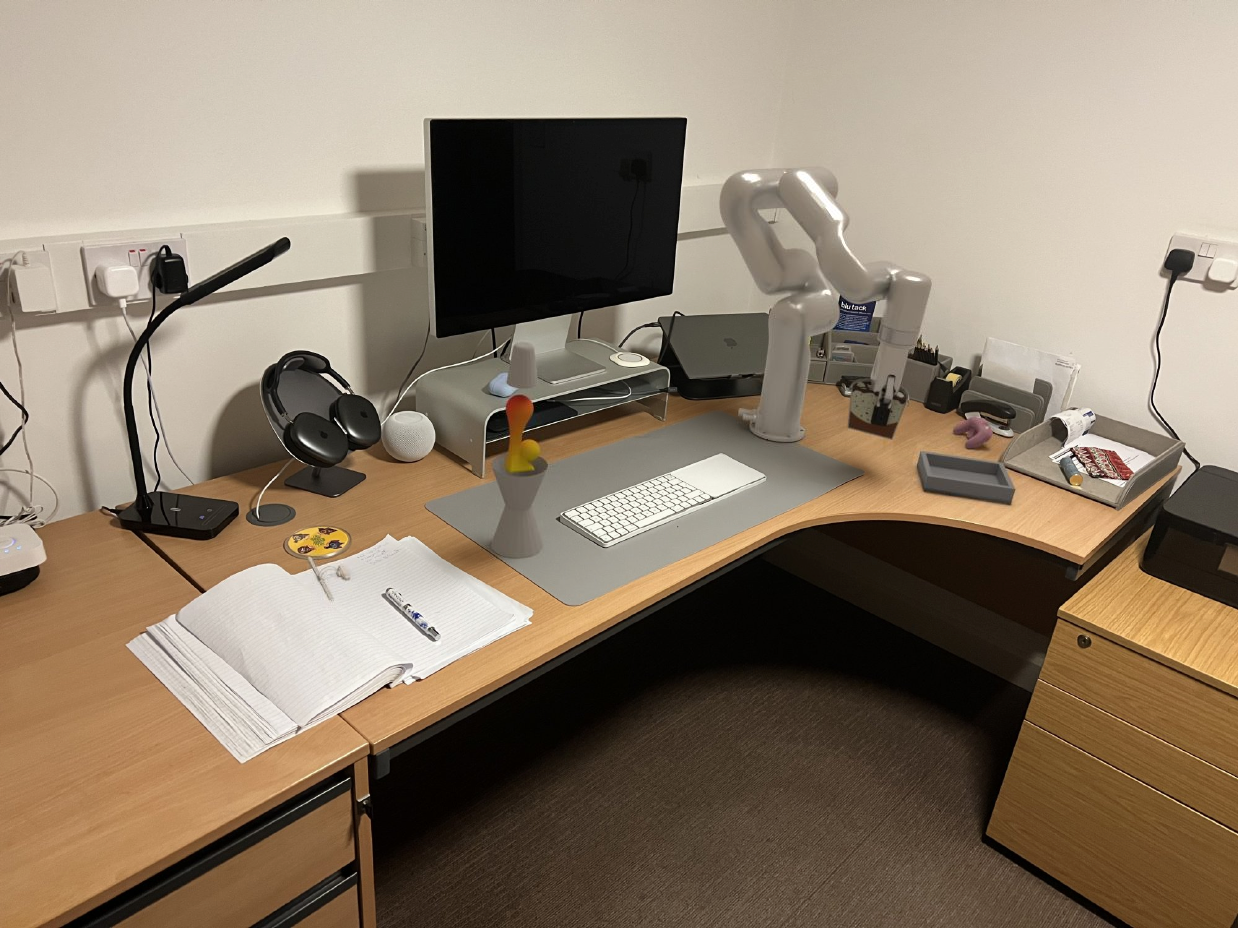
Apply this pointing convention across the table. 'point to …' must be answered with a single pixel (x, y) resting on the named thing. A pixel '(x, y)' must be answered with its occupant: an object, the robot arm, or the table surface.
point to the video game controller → (974, 431)
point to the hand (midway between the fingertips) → (877, 417)
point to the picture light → (341, 572)
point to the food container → (864, 406)
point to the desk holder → (965, 477)
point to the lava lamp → (519, 465)
